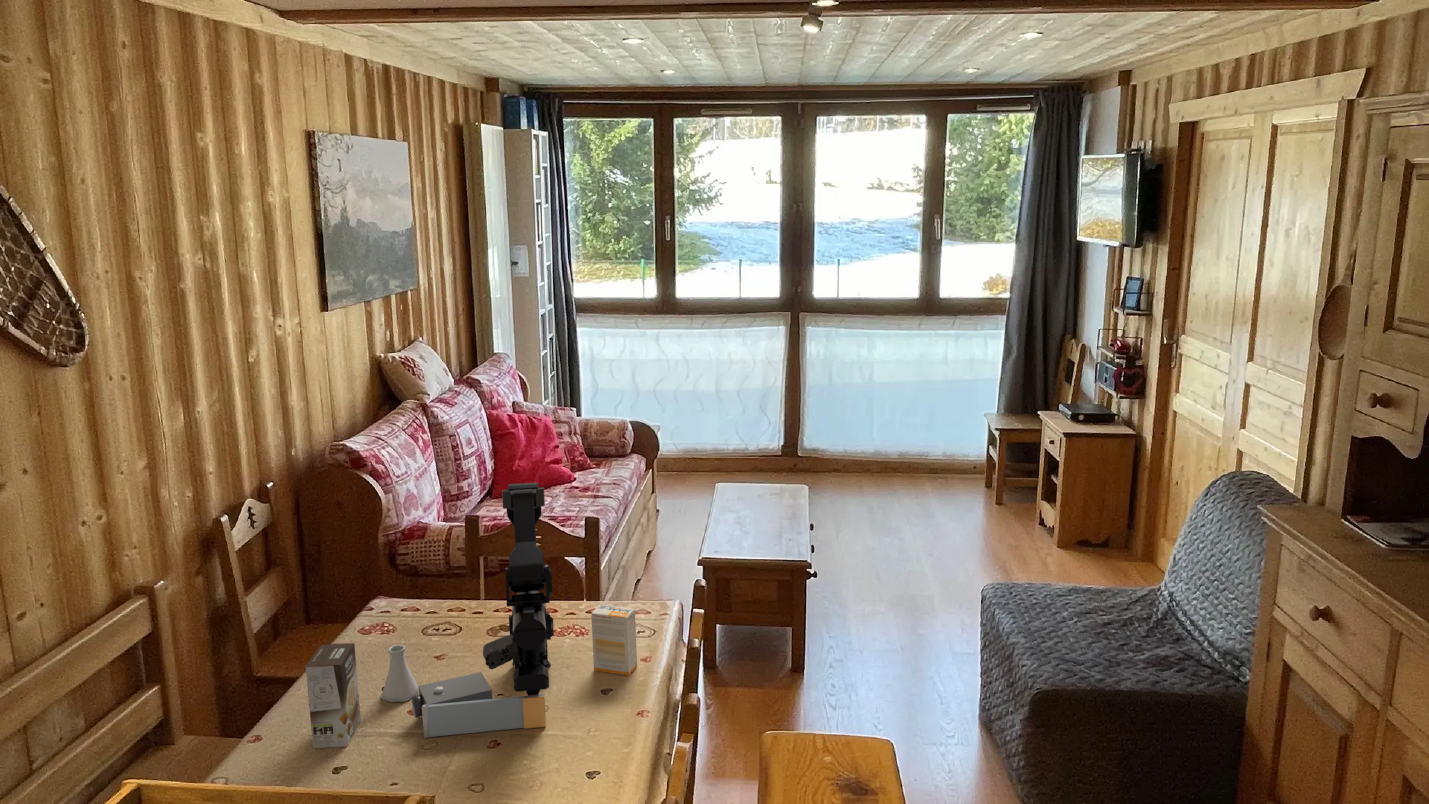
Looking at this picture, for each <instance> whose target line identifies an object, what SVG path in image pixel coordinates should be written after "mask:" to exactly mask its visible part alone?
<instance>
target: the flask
mask: <svg viewBox="0 0 1429 804" xmlns="http://www.w3.org/2000/svg"><path fill="white" fill-rule="evenodd" d="M406 648H407V647H406V646H405V645H403V644H394V645H392V646H390V647H388V650H387V652H388V654H389V658H390V660H389V669H388V673H387V676H386V679H385V683H384V685H383V690H382V693H381V696H380V699H381V700H384V701H387V702H389V703H400V702H401V703H403V702H408V701H409V700H412V696H416V695H419V686H420V685H419V684H418V682H417V680H416V679H415V677H414V675H413V673H412V671H411V669H410V667H409V665H408V663H407V659H406V655H405V650H406Z"/></svg>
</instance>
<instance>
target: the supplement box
mask: <svg viewBox="0 0 1429 804" xmlns="http://www.w3.org/2000/svg"><path fill="white" fill-rule="evenodd" d="M590 614H591V615H590V617H591V633H592V634H591V637H592V655H593V656H592V657H593V671H595V670H597V671H596V672H603V673H608V674H609V673H610V674H615V673H616V674H617V675H622V676H627V677H628V676H630V675H631V674H632V673H633V672H634V670H635V669H636V668H637V667H638V652H637V648H638V647H637V628H636V627H637V624H636V608H630V607H621V606H616V605H615V606H614V605H606V604H600V605H598V606H597V607H596V608H595V609H594V610H593V611H591V613H590ZM631 672H632V673H631ZM630 673H631V674H630Z"/></svg>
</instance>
